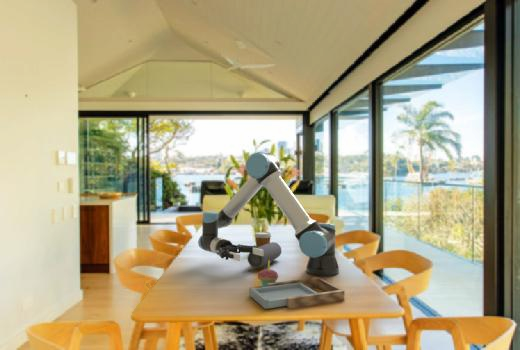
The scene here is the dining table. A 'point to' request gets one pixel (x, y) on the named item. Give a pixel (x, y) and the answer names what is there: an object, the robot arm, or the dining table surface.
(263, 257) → the bluetooth speaker
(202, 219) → the robot arm
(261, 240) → the disposable coffee cup
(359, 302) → the dining table surface
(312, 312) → the dining table surface
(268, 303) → the tray
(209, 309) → the dining table surface
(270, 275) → the cupcake
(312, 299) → the dock
